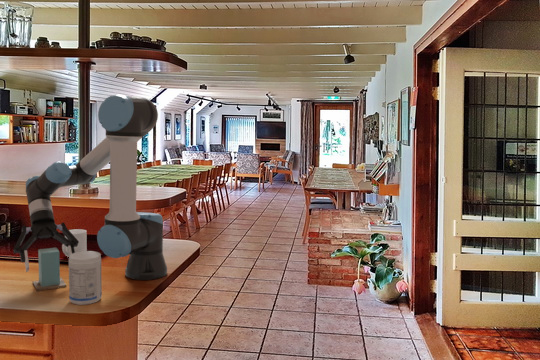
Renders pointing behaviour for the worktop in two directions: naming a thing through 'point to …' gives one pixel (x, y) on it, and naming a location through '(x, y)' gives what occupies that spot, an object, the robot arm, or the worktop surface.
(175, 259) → the worktop surface
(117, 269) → the worktop surface
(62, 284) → the grey pedestal stand
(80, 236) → the mug
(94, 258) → the supplement tub
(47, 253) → the tall teal pillar
